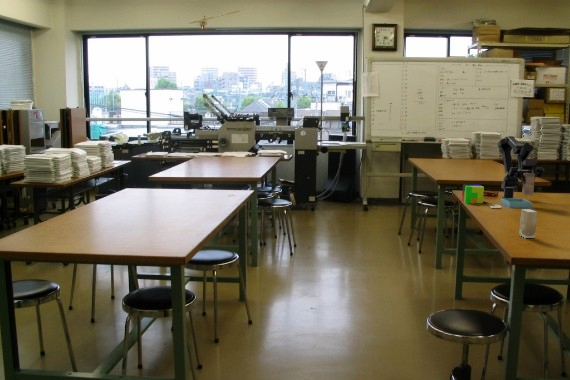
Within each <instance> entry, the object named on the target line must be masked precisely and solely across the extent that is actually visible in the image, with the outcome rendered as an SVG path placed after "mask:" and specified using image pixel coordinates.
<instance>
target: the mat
mask: <svg viewBox="0 0 570 380" xmlns="http://www.w3.org/2000/svg"><path fill="white" fill-rule="evenodd" d="M496 204H497V205H500V206H501V207H504V208H506V209H513V210H514V209H517V210H520V209H531V210H537V208H536V207H533V206H532V208H509V207H507V206H505V205H503V204H501V202H496Z"/></svg>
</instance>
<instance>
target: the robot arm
mask: <svg viewBox="0 0 570 380" xmlns="http://www.w3.org/2000/svg"><path fill="white" fill-rule="evenodd" d="M497 148H498V151H499V153H501V155H502V158H503V159H502V160H503V166H504V173H505V175H504V177H503V180H502V183H501V185H500V187H501V189H502V190H503V196H501V198H515V197H514V196H515V190H518V188H519V184H520V182H522V184H523V183H524V184H525V183H526V182H525V178H524V173H534V174H535V179H534V183H535V182H536V178H541V177H543V175H544V173H545V168H544V167H536V168H535V169H533V166H536V165H537V164H538V160H537V158H531V159H530V156H531V154H532V153H533V151H534V146H533V145H531V144H530V143H529V142H524V143H521V142H519V141H518V140H517V139H516V137H515V136H511V135H507V136H504V138H502V139H499V141H498V143H497ZM511 152H512V153H513V154H514V155H517V156H516V161H515V162H517V163H518V166H517V167H515V166H513V161H512V153H511Z"/></svg>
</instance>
